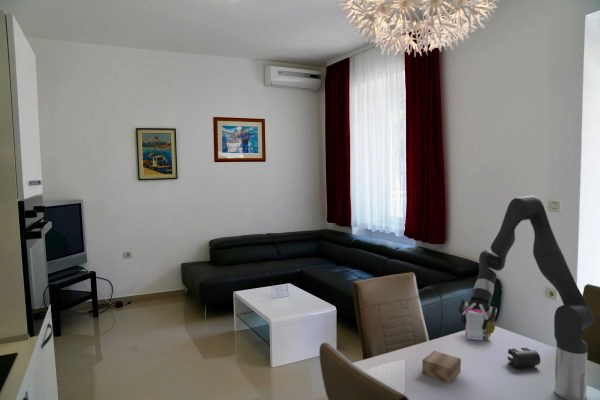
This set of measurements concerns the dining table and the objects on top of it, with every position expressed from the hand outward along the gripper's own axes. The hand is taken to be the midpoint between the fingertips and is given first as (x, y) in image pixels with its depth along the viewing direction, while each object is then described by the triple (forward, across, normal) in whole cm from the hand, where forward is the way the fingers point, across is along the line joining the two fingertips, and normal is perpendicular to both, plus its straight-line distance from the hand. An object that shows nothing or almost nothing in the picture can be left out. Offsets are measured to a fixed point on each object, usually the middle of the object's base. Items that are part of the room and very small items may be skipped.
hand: (472, 326), depth 164 cm
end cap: (+1, +14, +25) cm, 29 cm away
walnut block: (+20, -8, +5) cm, 23 cm away
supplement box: (+3, 0, +5) cm, 6 cm away
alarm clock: (-14, -8, +40) cm, 43 cm away
